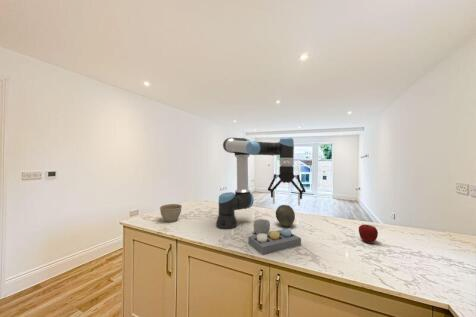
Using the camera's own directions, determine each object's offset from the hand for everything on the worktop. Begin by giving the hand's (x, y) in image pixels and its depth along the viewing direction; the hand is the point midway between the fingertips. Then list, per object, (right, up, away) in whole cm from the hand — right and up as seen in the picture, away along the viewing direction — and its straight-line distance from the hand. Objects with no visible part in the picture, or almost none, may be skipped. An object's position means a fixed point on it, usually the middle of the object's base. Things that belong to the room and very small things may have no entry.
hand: (286, 204), depth 108 cm
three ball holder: (-6, -24, +4) cm, 25 cm away
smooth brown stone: (+8, -24, +35) cm, 44 cm away
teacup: (-11, -24, +22) cm, 34 cm away
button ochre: (-6, -21, +4) cm, 22 cm away
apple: (+51, -25, +9) cm, 57 cm away
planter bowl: (-79, -23, +45) cm, 94 cm away
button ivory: (-13, -21, 0) cm, 25 cm away
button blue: (+2, -21, +8) cm, 23 cm away
